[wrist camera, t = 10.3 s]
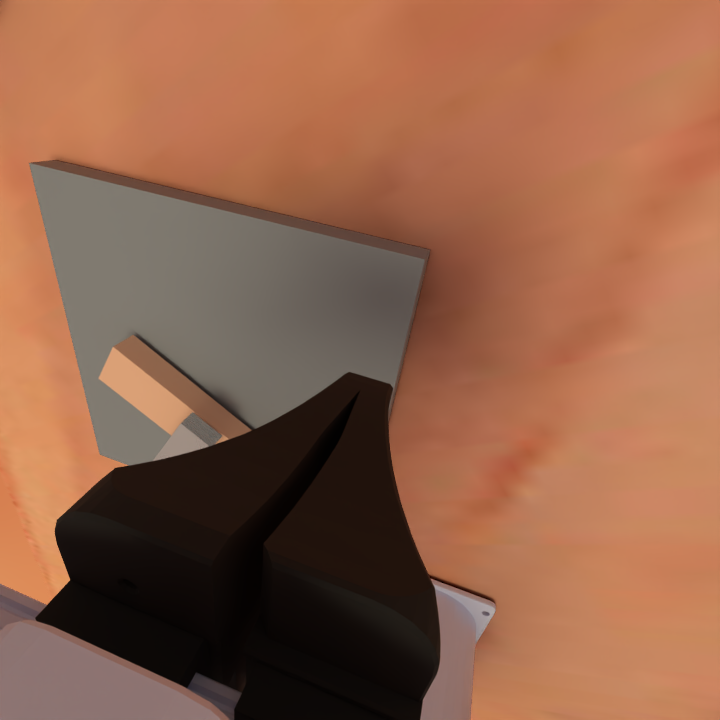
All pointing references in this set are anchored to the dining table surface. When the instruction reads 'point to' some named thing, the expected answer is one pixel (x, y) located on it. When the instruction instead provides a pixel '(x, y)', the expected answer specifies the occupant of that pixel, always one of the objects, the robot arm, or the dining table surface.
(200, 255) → the board
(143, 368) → the link
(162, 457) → the keeper
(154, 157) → the dining table surface
